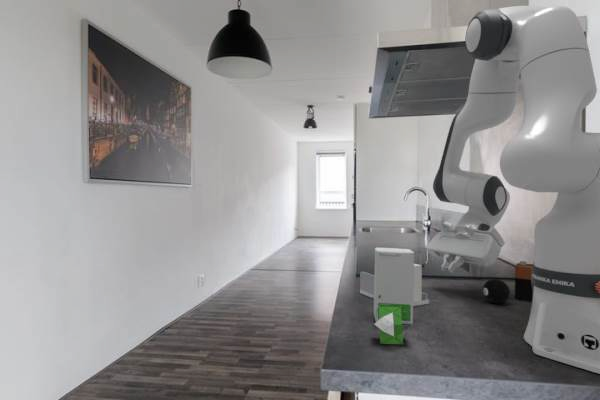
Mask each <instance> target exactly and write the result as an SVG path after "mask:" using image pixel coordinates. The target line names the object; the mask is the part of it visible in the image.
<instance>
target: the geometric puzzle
mask: <svg viewBox="0 0 600 400" xmlns="http://www.w3.org/2000/svg"><path fill="white" fill-rule="evenodd" d="M378 308H379V320H378V321H377V322H376V321H375V319H376V318H374V319H373V321H372V322H373V323H372V324H371V327H372V328H373V330H374V332H375V334H376V336H377V338H378V341H379V344H380V345H381V344H382V345H383V344H384V345H403V346H404V344H405V340H406V338H407V333H409V331H410V330H408V332H407V331H406V330H407V329H408V328H411V327H412V324H404V323H403V324H402V316H401V309H402V308H401V307H391V306H379V307H378ZM377 312H378V311H377ZM377 312H376V313H377ZM403 312H404V311H402V313H403ZM376 315H377V314H376ZM376 315H375V316H376ZM403 316H404V315H403ZM404 319H405V318H404ZM404 321H405V320H404ZM408 321H409V320H408ZM405 322H406V321H405ZM407 323H408V322H407ZM374 328H375V329H374ZM377 330H378V331H379V334H378V331H377ZM404 330H405V332H404ZM403 332H404V333H405V334H403ZM378 335H379V336H378ZM404 335H405V336H404Z"/></svg>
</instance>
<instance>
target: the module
mask: <svg viewBox="0 0 600 400" xmlns="http://www.w3.org/2000/svg"><path fill="white" fill-rule="evenodd" d="M422 267H423V266H422V264H417V263H414V288H413V302H419V301H422V292H423V289H422V286H423V285H422V284H423V283H422V282H423V279H422V277H423V273H422V272H423V271H422V270H423V269H422Z"/></svg>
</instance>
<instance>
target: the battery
mask: <svg viewBox="0 0 600 400" xmlns="http://www.w3.org/2000/svg"><path fill="white" fill-rule="evenodd" d="M533 265H534V261H533V263H527V261H522V260H520V261H519V262H517V263H516V265H515V266H514V298H515V300H516V299H517V300H520V301H528V302H532V300H533V291H532V285H531V274H532V266H533Z"/></svg>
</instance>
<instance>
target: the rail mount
mask: <svg viewBox="0 0 600 400" xmlns="http://www.w3.org/2000/svg"><path fill="white" fill-rule="evenodd" d="M359 294H361V295H363V296H366V297H369V298H371V299H373V300H374V274H372V273H369V272H366V271H360V272H359ZM428 295H429V294H428V293H426V292H423V291H422V301H419V302H413V307H417V306H423V305H428V304H430V299H429V297H428Z"/></svg>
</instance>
